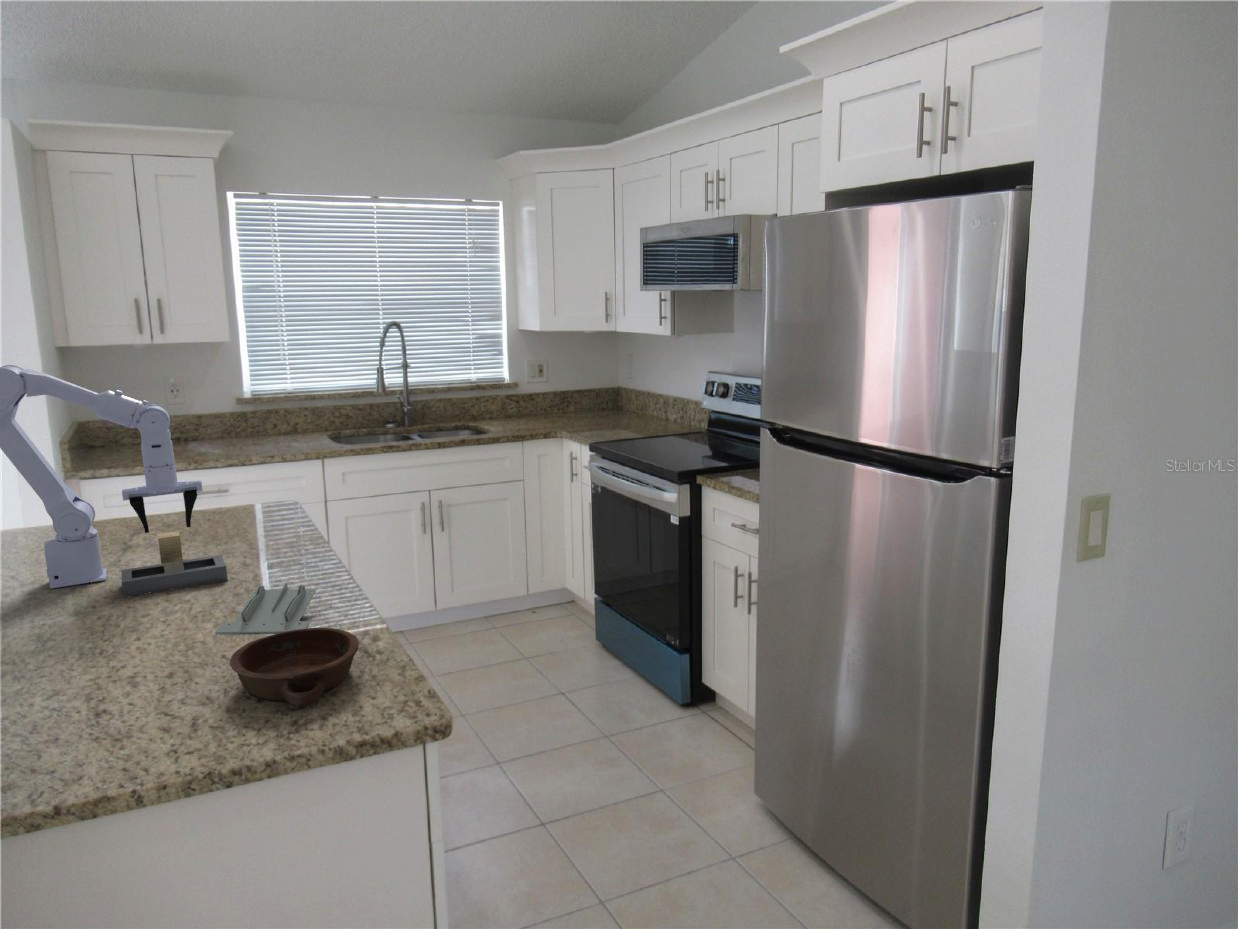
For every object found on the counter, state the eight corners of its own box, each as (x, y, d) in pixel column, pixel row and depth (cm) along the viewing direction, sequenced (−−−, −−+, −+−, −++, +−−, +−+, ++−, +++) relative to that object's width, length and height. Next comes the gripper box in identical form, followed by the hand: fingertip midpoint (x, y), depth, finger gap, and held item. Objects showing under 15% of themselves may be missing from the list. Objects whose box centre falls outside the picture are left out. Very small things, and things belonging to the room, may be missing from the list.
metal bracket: (244, 578, 155) (327, 577, 154) (251, 605, 157) (333, 604, 157) (209, 629, 142) (299, 628, 142) (217, 657, 145) (306, 656, 144)
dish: (343, 643, 139) (340, 613, 138) (378, 696, 121) (375, 662, 120) (225, 667, 131) (222, 636, 130) (243, 729, 112) (239, 693, 111)
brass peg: (162, 571, 178) (158, 538, 177) (161, 566, 182) (157, 534, 180) (183, 567, 180) (179, 535, 179) (182, 562, 184) (178, 531, 182)
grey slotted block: (123, 597, 163) (121, 582, 162) (123, 584, 170) (121, 569, 170) (227, 580, 171) (226, 566, 171) (223, 568, 179) (221, 554, 178)
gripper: (118, 472, 170) (128, 539, 173) (200, 463, 177) (208, 527, 179) (118, 466, 176) (127, 531, 179) (197, 458, 183) (205, 520, 186)
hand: (168, 529), depth 179 cm, fingers open, 7 cm apart
